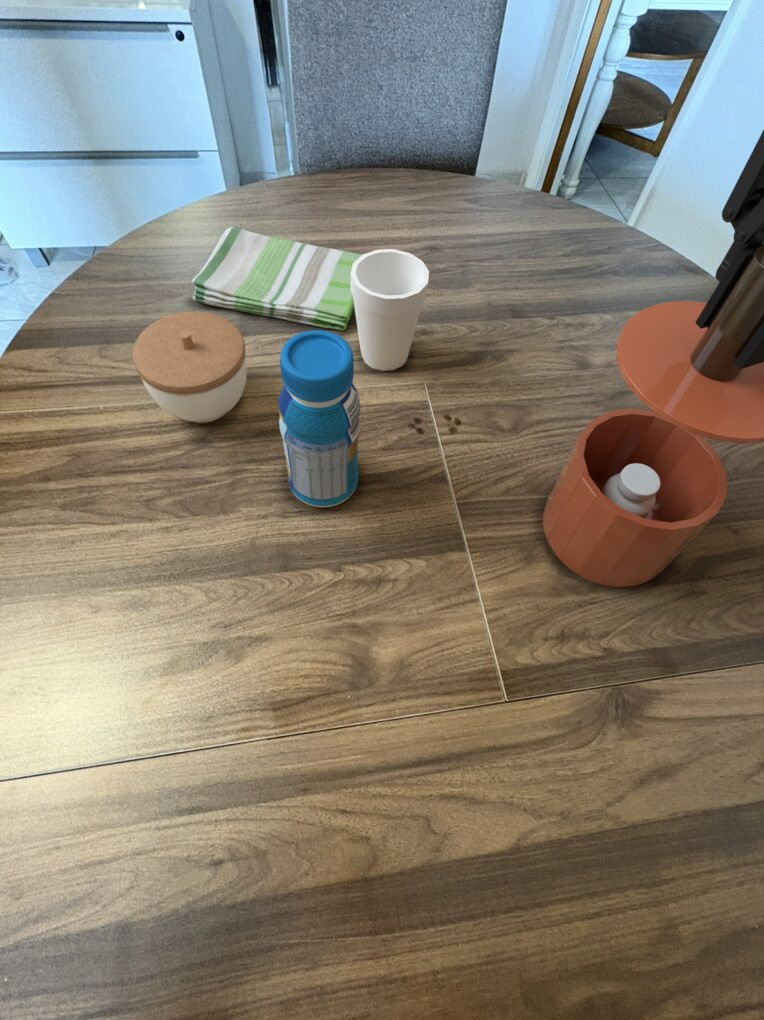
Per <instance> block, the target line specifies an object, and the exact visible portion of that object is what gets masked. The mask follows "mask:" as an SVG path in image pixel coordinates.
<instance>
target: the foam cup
mask: <svg viewBox="0 0 764 1020" xmlns="http://www.w3.org/2000/svg"><path fill="white" fill-rule="evenodd" d="M429 277H430V270H429V269H428V267H427V266H426V264H425V263H424V261H423V260H422V259H420V258H418V257H417V256H415V255H414V254H412V253H410V252H407V251H402V250H399V249H395V248H388V249H387V248H386V249H383V248H382V249H375V250H372V251H369V252H367V253H363V254H362V256H360V257H359V258H358V259H357V260H356V261H355V262H354V263H353V265H352V270H351V293H352V295H353V300H354V313H355V321H356V327H357V334H358V341H359V348H360V353H361V357H362V359H363V361H364V363H365V364H366V365H367V366H369V367H370V368H371V369H374V370H378V371H382V372H385V371H394V370H397V369H399V368H401V367H402V366H403V365H404V364H405V363H406V362H407V360H408V358H409V354H410V351H411V347H412V343H413V340H414V336H415V334H416V330H417V326H418V322H419V319H420V315H421V312H422V309H423V305H424V303H425V301H426V300H427V294H428V285H429Z"/></svg>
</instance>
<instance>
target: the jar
mask: <svg viewBox="0 0 764 1020" xmlns="http://www.w3.org/2000/svg"><path fill="white" fill-rule="evenodd" d="M634 463H639V464H643V465H646V466H648V467H650V468H652V469H653V470H654V471H655V472H656V473H657V475H658V476H659V478H660V488H659V490H658V491H657V493H656V494H655V496H656V501H655V505H654V507H653V509H652V510H651V511H650V513H649V514H648V515H647V516H646V517H645V518H642V517H640V516H638V515H635V514H633V513H630V512H628V511H626V510H623V509H621V508H620V507H619V506H618V505H616V504H615V503H614V502H612V501H611V500H610V499H609V498H607V497H606V496H605V495H603V494H602V493H601V490H602V488H603V487H604V485H605V484H606V482H607V481H608V480H609V479H610V478H611V477H612V476H614V475H616V474H619V473H621V471H622V470H623V469H624V468H625V467H626V466H627V465H629V464H634ZM727 496H728V475H727V472H726V470H725V466H724V465H723V463H722V461H721V458H720V456H719V454H718V451H716V450H715V449H714V447H713V446H712V445H711V444H710V443H709V442H708V441H707V439H705V437H703V436H699V435H697V434H694V433H691V432H689V431H686V430H684V429H682V428H680V427H678V426H676V425H674V424H672V423H670V422H669V421H667V420H665V419H664V418H662V417H661V416H659V415H658V414H656V413H655V412H654V411H652V410H650V409H649V410H648V409H642V408H634V407H630V408H622V409H616V410H610V411H606V412H605V413H603V414H602V415H599V416H598V417H595V418H594V419H592V420H590V421H589V422H588V424H587V425H586V426H585V428H584V429H583V431H581V433H580V434H579V436H578V437H577V439H576V442H575V443H574V445H573V447H572V450H571V452H570V453H569V456H568V457H567V459H566V461H565V463H564V465H563V468H562V469H561V471H560V474H559V475H558V477H557V480H556V481H555V484H554V485H553V487H552V489H551V491H550V494H549V495H548V498H547V499H546V502H545V506H544V510H543V513H542V516H543V517H542V526H543V531H544V535H545V538H546V540H547V543H548V545H549V547H550V548H551V550H552V551H553V553H554V554H555V556H556V557H557V558H558V559H559V560H560V561H561V563H562V564H564V565H565V566H566V567H567V568H569V570H571V571H572V572H574V573H575V574H576V575H578V576H580V577H582V578H583V579H585V580H587V581H590V582H592V583H595V584H598V585H602V586H606V587H613V588H614V587H615V588H629V587H630V588H631V587H634V586H639V585H641V584H644V583H646V582H648V581H651V580H652V579H654V578H655V577H657V575H659V574H660V573H661V572H663V571H664V570H665V569H666V568H667V567H668V566H669V565H670V564H671V563H672V562H673V560H674V559H676V557H678V555H679V554H680V553H681V552H682V551H683V550H684V549H685V548H686V547H687V546H688V545H689V544H690V543H691V542H692V541H693V540H694V539H695V537H696V536H698V534H699V533H701V531H702V530H703V529H704V528H705V527H706V525H708V524H709V523H710V522H711V521H712V519H713V518H715V516H716V515H717V514H718V513H719V511H720V509H721V507H722V506H723V503H724V502H725V500H726V499H727Z"/></svg>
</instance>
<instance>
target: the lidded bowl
mask: <svg viewBox="0 0 764 1020" xmlns="http://www.w3.org/2000/svg"><path fill="white" fill-rule="evenodd" d="M246 356H247V355H246V343H245V339H244V337H243V334H242V332H241V331H240V329H239V328H238V327H237V326H236V325H235V324H234V323H233V322H232V321H230V320H229V319H227V318H225V317H223V316H220V315H217V314H215V313H211V312H205V311H183V312H178V313H174V314H170V315H167V316H165V317H162V318H160V319H158V320H156V321H154V322H153V323H151V324H149V326H147V327H145V329H144V330H143V331H142V332H141V333H140V334H139V336H138V337H137V339H136V340H135V342H134V344H133V348H132V361H133V362H132V363H133V365H134V367H135V369H136V372H137V374H138V375H139V377H140V379H141V381H142V383H143V385H144V387H145V389H146V391H147V392H148V394H149V396H150V397H151V398H152V400H153V401H154V402H155V403H156V405H157V406H159V407H160V408H161V409H162V410H163V411H164V412H166V413H167V414H168V415H170V416H173V417H175V418H177V419H179V420H182V421H186V422H192V423H198V424H199V423H201V424H204V423H209V422H213V421H217V420H218V419H221V418H222V417H224V416H225V415H226V414H227V413H229V412H230V411H231V410H232V409H233V408H234V407H235V406H236V405H237V403H239V401H240V400H241V398H242V396H243V393H244V391H245V388H246V384H247V377H248V367H247V366H248V364H247V357H246Z"/></svg>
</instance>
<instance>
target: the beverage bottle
mask: <svg viewBox="0 0 764 1020" xmlns="http://www.w3.org/2000/svg"><path fill="white" fill-rule="evenodd" d="M354 362H355V358H354V354H353V349H352V348H351V346H350V344H349V342H348V341H347V340H346V339H345V338H344V337H342V336H340V335H339V334H336V333H334V332H331V331H328V330H323V329H321V330H320V329H313V330H306V331H303V332H299V333H297V334H295V335H294V336H291V337H290V338H289V339H288V340H287V341H286V342H285V343H284V344H283V346H282V347H281V351H280V356H279V366H280V373H281V379H282V383H283V386H282V388H281V390H280V392H279V397H278V402H277V410H278V414H279V420H278V423H279V424H278V425H279V432H280V435H281V438H282V443H283V449H284V457H285V463H286V469H287V470H286V471H287V480H288V485H289V488H290V491H291V492H292V494H293V495H294V496H295V497H296V498H297V499H298V500H299V501H300V502H302V503H304V504H306V505H308V506H311V507H315V508H331V507H335V506H338V505H340V504H342V503H345V501H347V500H348V499H350V497H351V496H352V495H353V494H354V492H355V491H356V488H357V486H358V483H359V468H358V461H359V460H358V455H359V437H360V435H361V429H362V417H361V413H360V412H361V399H360V395H359V392H358V390H357V388H356V387H355V384H354V383H353V382H354V371H355V370H354V369H355V368H354V367H355V366H354Z"/></svg>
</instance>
